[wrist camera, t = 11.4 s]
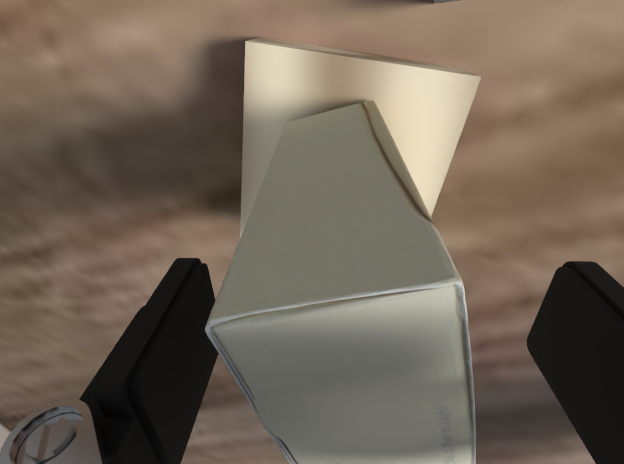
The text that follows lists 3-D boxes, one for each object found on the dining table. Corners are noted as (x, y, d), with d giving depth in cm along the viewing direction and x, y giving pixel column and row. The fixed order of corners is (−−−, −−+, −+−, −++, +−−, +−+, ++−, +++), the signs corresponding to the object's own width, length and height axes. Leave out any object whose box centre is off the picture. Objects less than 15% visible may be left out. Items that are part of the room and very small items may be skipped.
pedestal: (452, 65, 18) (481, 77, 15) (400, 227, 23) (413, 263, 20) (260, 36, 18) (245, 41, 14) (252, 208, 23) (240, 241, 20)
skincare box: (394, 213, 18) (484, 476, 8) (312, 231, 19) (302, 493, 9) (373, 92, 15) (483, 280, 5) (276, 119, 16) (192, 332, 6)
